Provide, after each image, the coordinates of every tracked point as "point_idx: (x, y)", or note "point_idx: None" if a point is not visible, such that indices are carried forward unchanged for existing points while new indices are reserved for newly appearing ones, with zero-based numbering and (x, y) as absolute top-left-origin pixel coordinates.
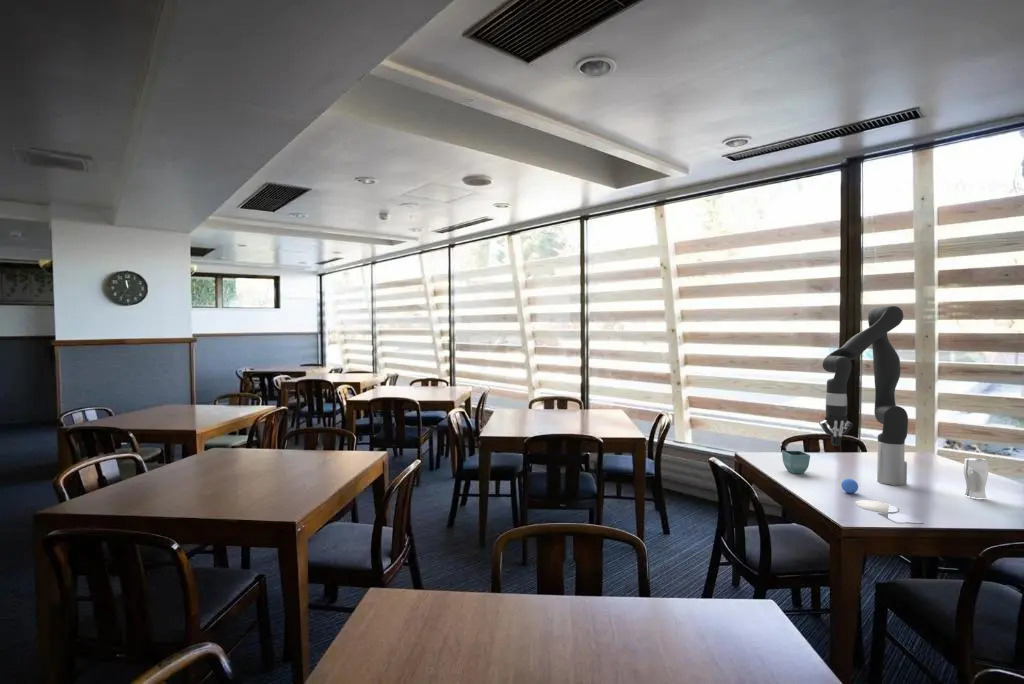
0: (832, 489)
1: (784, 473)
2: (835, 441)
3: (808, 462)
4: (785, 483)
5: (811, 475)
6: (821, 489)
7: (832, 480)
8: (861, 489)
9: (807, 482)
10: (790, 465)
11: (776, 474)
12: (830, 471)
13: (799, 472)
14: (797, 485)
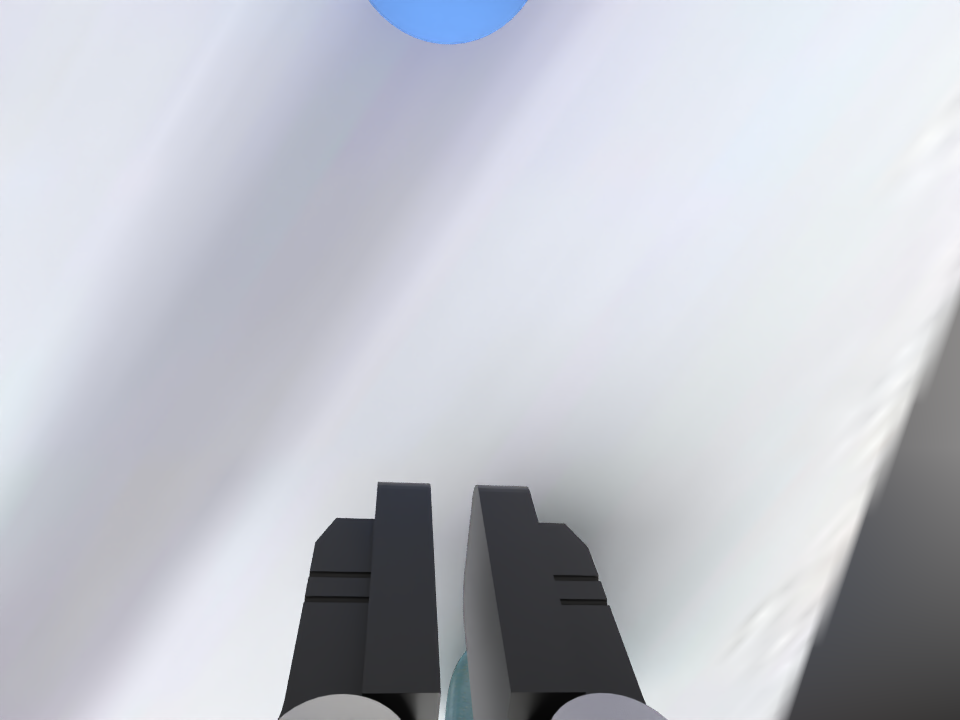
0: (554, 110)
1: (650, 639)
2: (531, 559)
3: (459, 712)
4: (890, 343)
5: (436, 589)
6: (681, 116)
7: (328, 436)
8: (196, 91)
9: (643, 372)
10: None
11: (746, 610)
12: (160, 707)
13: None
14: (826, 273)
